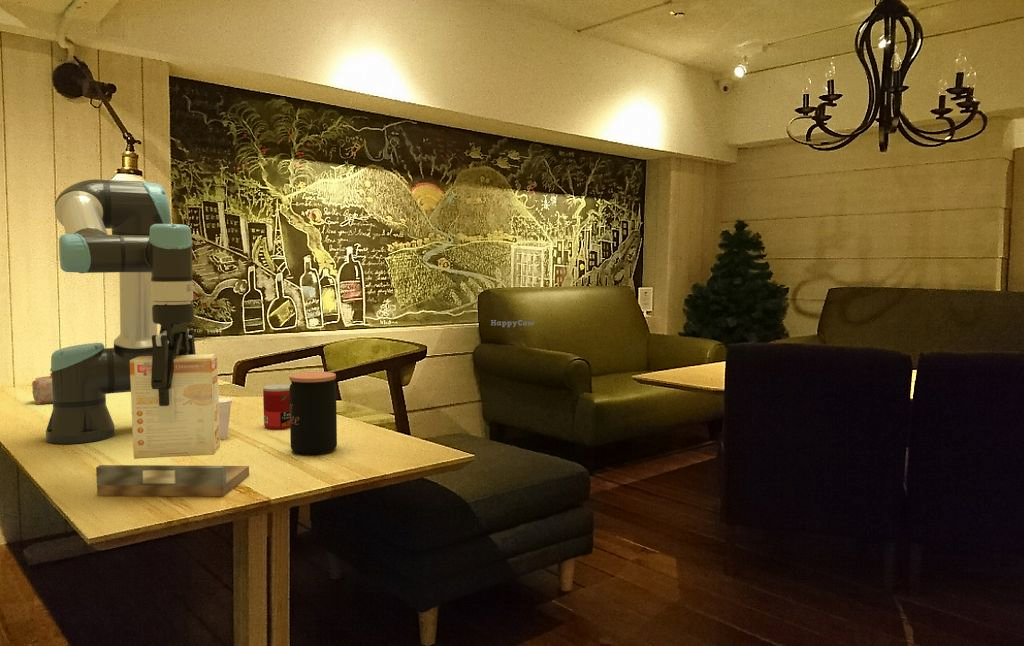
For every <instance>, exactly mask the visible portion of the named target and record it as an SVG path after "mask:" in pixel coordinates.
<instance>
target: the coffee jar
mask: <svg viewBox="0 0 1024 646" xmlns="http://www.w3.org/2000/svg"><path fill="white" fill-rule="evenodd" d="M336 378H337V375H336V373H335V372H329V371H307V372H306V371H304V372H297V373H292V374H290V375H289V381H290V383H291V384H289V385H290V388H289V391H290V428H289V429H290V430H289V434H290V437H289V438H290V449H291V450H292V452H293V453H294V454H296V455H299V456H319V455H325V454H330V453H333V451H335V449H336V448H337V446H338V431H337V430H338V422H337V421H338V420H337V419H338V417H337V416H338V415H337V384H336V382H335V380H336Z"/></svg>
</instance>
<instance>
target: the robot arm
mask: <svg viewBox="0 0 1024 646" xmlns="http://www.w3.org/2000/svg"><path fill="white" fill-rule="evenodd" d="M54 214H55V217H56V220H57V221H58V222H59V224H60V225H62V227H63V228H64V232H65V234H61V235H60V236H59V239H58V256H59V257H58V258H59V266H60V269H61V270H62V271H63V272H65V273H79V274H89V273H90V274H91V273H92V274H94V273H95V274H97V273H98V274H100V273H101V274H102V273H104V274H105V273H118V274H119V324H120V325H119V328H120V329H119V330H120V334H119V335H117V337H116V338H114V340H113V347H109V348H108V347H106V348H105V345H104V343H102V342H92V343H82V344H77V345H69V346H66V347H63V348H60V349H57V350H55V351H53V352H52V354H51V356H50V357H51V358H50V369H49V371H50V372H51V373H52V400H53V404H52V412H51V415H50V417H49V421H48V424H47V427H46V430H45V441H46V442H47V443H50V444H55V445H56V444H58V445H61V444H62V445H64V444H65V445H69V444H81V443H84V444H85V443H92V442H97V441H102V440H105V439H108V438H111V437H113V436H115V434H116V429H115V428H116V427H115V426H116V425H115V423H114V421H113V419H112V416H111V414H110V411H109V409H108V406H107V395H109V394H120V393H122V394H123V393H131V380H130V360H131V359H134V358H136V357H138V356H152V377H151V386H152V389H158V406H159V422H175V413H174V388H171V384H172V378H173V371H174V359H175V358H176V356H177V355H197V353H196V345H195V329H191V328H190V329H188V326H187V324H191V323H194V321H195V305H193V303H191V302H193V301H194V292H195V290H196V287H195V286H194V281H193V280H194V277H193V274H194V273H193V243H194V242H193V239H192V228H191V227H190V226H189V225H186V224H180V223H179V224H178V223H172V216H171V215H172V214H171V209H170V204H169V198H168V196H167V192H166V190H165V188H164V187H163V186H162V185H161V184H160V183H157V182H155V183H154V182H148V181H142V180H141V181H139V180H115V179H111V180H109V179H98V178H97V179H96V178H95V179H94V178H93V179H86V180H82V181H79V182H76V183H74V184H72V185H69V186H68V187H66V188H65V189H64V190H62V192H60V193H59V195H58V196H57V198H56V199H55V202H54ZM107 229H111V234H109V233H108V231H107ZM158 325H160V327H159V328H160V330H159V334H158Z"/></svg>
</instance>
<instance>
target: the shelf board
mask: <svg viewBox="0 0 1024 646" xmlns="http://www.w3.org/2000/svg"><path fill="white" fill-rule="evenodd" d="M95 474H96V496H99V497H100V496H101V497H105V496H106V497H107V496H108V497H109V496H111V497H113V496H114V497H115V496H116V497H122V496H123V497H129V496H130V497H147V496H148V497H224V496H226V495H227V494H228V493H229V492H231V491H232V490H233V489H234V488H235V487H237V486H238V485H240V484H241V483H242V482H243V481H244V480H245V479H247V478H248V477H250V465H174V464H173V465H172V464H170V465H154V464H153V465H148V464H147V465H145V464H140V465H139V464H135V465H134V464H133V465H132V464H127V465H126V464H125V465H124V464H122V465H121V464H119V465H118V464H115V465H114V464H99V465H97V466H96V467H95Z"/></svg>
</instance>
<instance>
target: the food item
mask: <svg viewBox="0 0 1024 646" xmlns="http://www.w3.org/2000/svg"><path fill="white" fill-rule="evenodd" d="M31 386H32V397H33V399H34V401H35V403H36V404H37V405H41V406H42V405H53V400H52V372H50V373H49V375H47V376H41V377H40V376H39V377H35V379H34V380H32V383H31Z"/></svg>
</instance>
